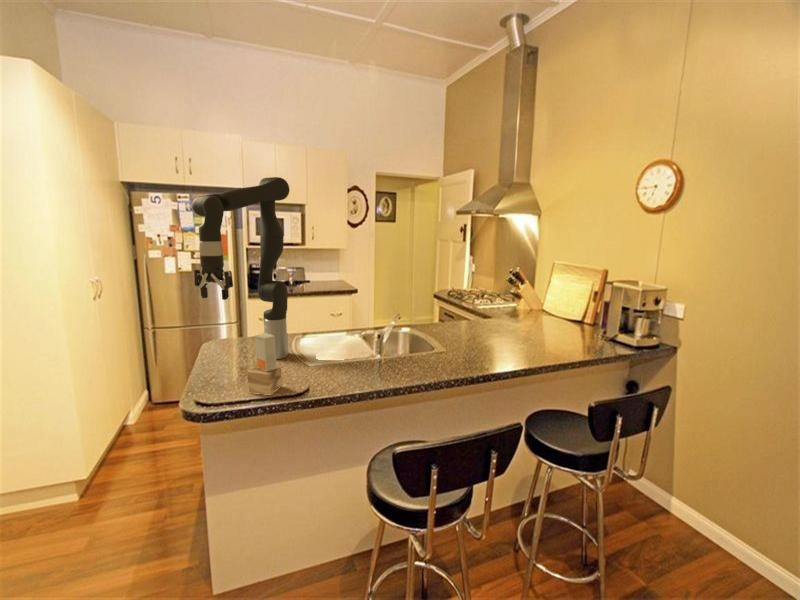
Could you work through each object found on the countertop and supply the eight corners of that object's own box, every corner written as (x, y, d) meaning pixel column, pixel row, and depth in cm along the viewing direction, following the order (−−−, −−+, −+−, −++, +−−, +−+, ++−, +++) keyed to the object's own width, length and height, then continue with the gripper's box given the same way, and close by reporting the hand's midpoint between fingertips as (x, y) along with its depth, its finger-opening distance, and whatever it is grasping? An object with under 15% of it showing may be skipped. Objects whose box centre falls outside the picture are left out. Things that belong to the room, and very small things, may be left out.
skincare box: (256, 368, 139) (254, 335, 137) (267, 365, 142) (265, 332, 140) (266, 372, 135) (264, 338, 133) (277, 368, 138) (275, 335, 136)
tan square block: (261, 374, 144) (261, 363, 143) (281, 377, 142) (280, 366, 141) (247, 382, 137) (247, 371, 136) (268, 385, 134) (267, 374, 134)
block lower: (261, 384, 145) (261, 374, 144) (281, 387, 143) (281, 376, 142) (249, 394, 137) (248, 383, 136) (270, 396, 135) (269, 385, 135)
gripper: (235, 253, 143) (238, 298, 146) (202, 252, 146) (205, 295, 150) (221, 255, 136) (224, 302, 139) (186, 254, 139) (190, 299, 143)
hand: (214, 298), depth 145 cm, fingers open, 8 cm apart
